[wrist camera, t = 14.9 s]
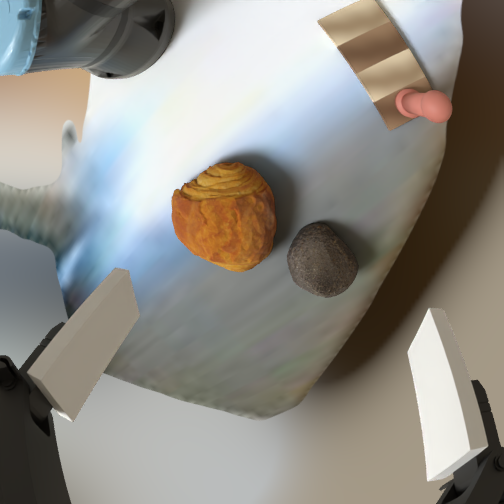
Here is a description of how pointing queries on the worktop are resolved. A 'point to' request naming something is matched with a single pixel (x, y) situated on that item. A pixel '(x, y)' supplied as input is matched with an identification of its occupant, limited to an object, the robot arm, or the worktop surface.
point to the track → (376, 56)
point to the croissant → (226, 216)
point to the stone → (321, 261)
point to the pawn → (424, 105)
